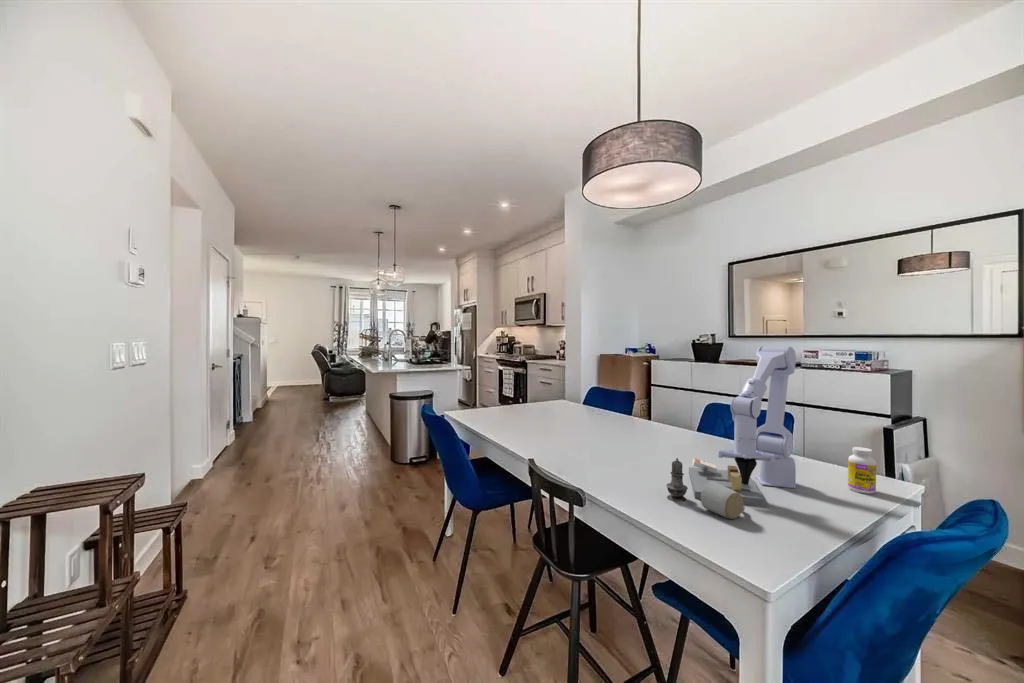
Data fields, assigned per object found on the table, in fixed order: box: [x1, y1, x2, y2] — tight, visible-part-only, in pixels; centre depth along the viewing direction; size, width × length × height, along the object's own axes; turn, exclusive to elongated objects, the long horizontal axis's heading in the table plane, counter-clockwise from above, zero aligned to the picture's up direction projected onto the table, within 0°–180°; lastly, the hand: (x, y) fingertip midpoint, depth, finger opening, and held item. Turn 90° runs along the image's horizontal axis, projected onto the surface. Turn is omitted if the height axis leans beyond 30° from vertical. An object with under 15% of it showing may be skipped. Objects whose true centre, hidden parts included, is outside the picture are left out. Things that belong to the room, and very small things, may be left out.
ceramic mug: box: [700, 482, 746, 520], centre depth 112 cm, size 11×8×8 cm
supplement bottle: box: [847, 446, 877, 495], centre depth 128 cm, size 7×7×13 cm
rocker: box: [691, 457, 718, 473], centre depth 140 cm, size 7×5×2 cm
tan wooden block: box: [730, 472, 741, 491], centre depth 125 cm, size 2×4×4 cm, turn 161°
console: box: [688, 460, 766, 507], centre depth 131 cm, size 18×24×5 cm
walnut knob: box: [727, 465, 739, 482], centre depth 131 cm, size 2×4×4 cm, turn 161°
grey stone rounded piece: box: [666, 457, 689, 503], centre depth 122 cm, size 6×6×12 cm
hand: (745, 483), depth 124 cm, fingers closed
